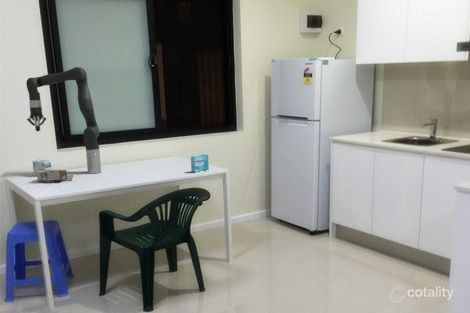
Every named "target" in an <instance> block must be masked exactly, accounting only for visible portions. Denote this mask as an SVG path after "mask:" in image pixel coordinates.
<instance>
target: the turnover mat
mask: <svg viewBox="0 0 470 313" xmlns="http://www.w3.org/2000/svg"><path fill="white" fill-rule="evenodd" d="M73 178H74V174H67V179H65V180H63V181H61V182H72V180H73ZM61 182H60V183H61ZM45 183H46V184H47V183H48V184H49V183H54V182H53V181H45Z"/></svg>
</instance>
